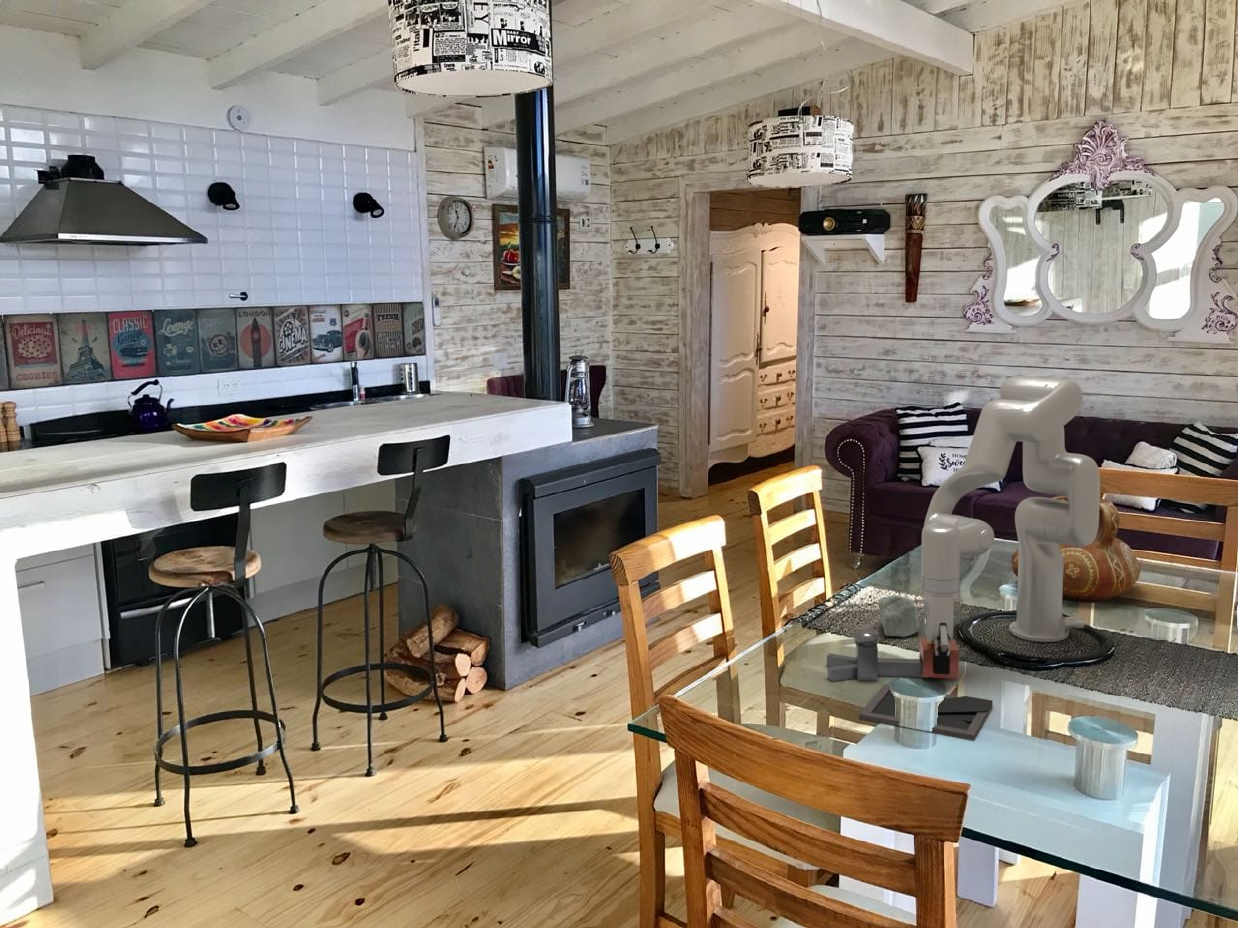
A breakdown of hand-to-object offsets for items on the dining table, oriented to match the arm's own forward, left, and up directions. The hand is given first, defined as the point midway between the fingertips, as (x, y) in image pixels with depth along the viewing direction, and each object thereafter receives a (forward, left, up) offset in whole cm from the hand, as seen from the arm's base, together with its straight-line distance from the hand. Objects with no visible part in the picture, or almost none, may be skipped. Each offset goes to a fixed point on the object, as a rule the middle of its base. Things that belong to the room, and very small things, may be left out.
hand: (938, 666), depth 216 cm
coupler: (+12, 0, -2) cm, 12 cm away
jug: (-41, -60, -2) cm, 72 cm away
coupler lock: (0, 0, -1) cm, 1 cm away
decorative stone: (+6, -27, -2) cm, 28 cm away
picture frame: (+5, +19, -3) cm, 20 cm away
